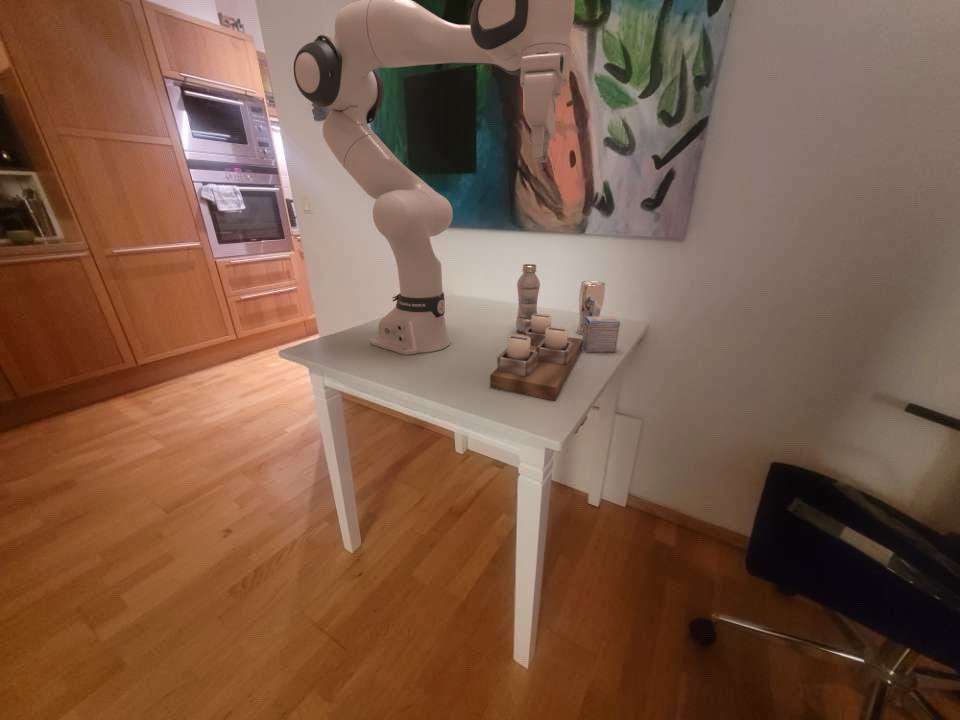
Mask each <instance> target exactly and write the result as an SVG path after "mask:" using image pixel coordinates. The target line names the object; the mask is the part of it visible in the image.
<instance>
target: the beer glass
mask: <svg viewBox="0 0 960 720" xmlns="http://www.w3.org/2000/svg"><path fill="white" fill-rule="evenodd" d="M605 286H606V283H605V282H602V281H600V280H599V281H598V280H597V281H596V280H585V281H581V283H580V289H579V294H578V295H579V296H578V312H579V320H578V321H579V322H578V326H577V328H576V329H577V330H576V332H577V333H578V334H579V335H581V336H583V332H584V323H585V317H600V316H601V311H602V308H603V305H604V300H605V293H606V291H605V289H606V288H605Z"/></svg>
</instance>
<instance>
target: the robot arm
mask: <svg viewBox="0 0 960 720" xmlns="http://www.w3.org/2000/svg"><path fill="white" fill-rule="evenodd" d="M575 7H576V0H474V3H473V4H472V9H471V13H470V20H469V21H470V22H469V23H470V24H456V23H453V22H449V21H447V20H445V19H442V18H441V17H439V16H437V15H436V14H434V13H433V12H431V11H430V10H428V9H426V8H425V7H423V6H422V5H420V4H419V3H417V2H416V1H414V0H356V1H353V2H351V3H349V4H347V5H345V6H343V7H342V8H340V10H339V11H338V13H337V14H336V17H335V21H334V36H333V38H330V37H329V36H328V35H325V34H321V35H317V37H316V38H315V39H314V40H313V41H311V42H309V43H306V44H305V45H303V46H302V47H301V48H300V49H299V50H298V51H297V53H296V55H295V58H294V62H293V77H294V80H295V81H294V82H295V84H296V86H297V88H298V91H299V92H300V94H301V95H302V96H303V97H304V98H306V99H307V101H310V102H311V103H313V104H315V105H317V106H320V107H321V108H322V107H323V108H325V107H326V108H328V115H327V117H326V118H325V120H324V121H323V125H322V135H323V136H322V137H323V139H324V140H325V143H326V144H327V146H328V148H329V150H331V153H332V154H333V155H334V157H335V158H336V160H337V161H338V162H339V163H340V164H341V165H342V167H343V168H344V170H346V172H347V173H348V174H349V175H350V176H351V177H352V179H354V181H356V183H357V184H358V185H359V187H360V188H362V190H363V191H364V192H365V193H366V194H367V195H368V196H370V198H373V199H374V200H375V202H374V205H373V209H372V219H373V223H374V226H375V227H376V230H378V232H379V233H380V234H381V235H382V236H383V237H384V238H385V239H386V240H387V242H388V244H389V246H390V248H391V250H392V253H393V256H394V258H395V262H396V266H397V274H398V281H399V282H398V283H399V291H400V292H399V294H397V295H394V296H393V297H391V299H393V300H391V301H392V302H396V304H395V307H394V308H392V310H390V311H389V312H388V313H387V314H386V315H384V316H383V317H382V318H381V319H380V320H379V323H378V327H377V331H378V332H377V334H375V335H374V336H373V337H372V338H371V339H370V344H371V345H373V346H376V347H380V348H382V349H385V350H389V351H392V352H394V353H399V354H402V355H406V356H410V355H413V354H414V355H415V354H420V353H431V352H436V351H440V350H442V349H445V348H447V347H448V346H449V345H450V344H451V343H452V342H451V339H450V336H449V333H448V329H447V324H446V318H445V313H446V311H445V309H446V304H445V301H446V300H445V293H444V292H443V278H442V277H443V276H442V275H443V274H442V263H441V260H440V259H439V258H438V257H437V255H435V252H434V249H433V246H432V242H431V238H432V237H435V236H436V237H437V236H439V235H440V234H442V233H444V232H445V231H446V230H447V229H448V228H449V227H450V226H451V224H452V221H453V218H454V216H453V215H454V212H453V211H454V210H453V207H452V205H451V202H450V201H449V200H448V199H447V198H446V197H445V196H443V195H442V194H440V193H439V192H437V191H435V190H434V188H432V187H431V186H430V185H428V184H427V182H425V181H424V180H423V179H422V178H421V177H419V176H418V175H417V174H415V173H414V172H413V171H411V170H410V169H409V168H408V167H407V166H406V165H404V163H402V162H401V160H400V159H399V158H397V157H396V155H395V154H394V153H393V151H391V150H390V149H389V147H387V145H386V144H385V143H384V142H383V141H382V139H380V137H379V136H377V134H376V133H375V132H374V131H373V130H372V128H370V125H369V124H371V123H373V122H374V121H375V119H376V118H377V117H376V116H377V114H378V113H379V111H380V110H381V107H382V104H383V103H384V98H385V86H384V81H383V79H382V77H381V75H380V74H379V73H378V71H377V70H376V69H379V68H380V69H382V68H384V69H385V68H387V69H388V68H389V69H390V68H392V69H393V68H403V67H406V68H407V67H413V66H415V67H416V66H423V65H424V66H425V65H427V66H428V65H438V64H440V65H441V64H452V65H453V64H455V65H485V66H486V65H487V66H489V65H490V66H495V67H497V68H498V69H501V70H502V71H504V72H505V73H507V74H509V75H511V76H518V77H519V76H520V83H519V84H520V88H523V90H524V91H523V93H524V95H523V96H524V97H523V98H524V99H523V100H524V116H525V122H526V123H527V125H528V126H529V128H530V129H531V143H532V144H531V145H532V150H531V151H532V156H533V157H534V158H537V161H538V162H539V163H546V162H547V161H548V152H549V148H550V147H549V146H550V140H553V139H554V138H555V133H556V119H557V116H556V115H557V98H558V97H560V96H561V95H562V89H563V88H564V87H566V86H568V84H569V83H570V73H571V60H572V59H571V58H572V41H571V32H572V27H573V24H574V21H575Z"/></svg>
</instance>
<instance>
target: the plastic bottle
mask: <svg viewBox="0 0 960 720" xmlns="http://www.w3.org/2000/svg"><path fill="white" fill-rule="evenodd" d="M521 272H523V273H522V274H521V276H520V277H519V278H518V280H517V282H516V284H517V285H516V286H517V297H518V299H517V300H518V308H517V316H516V320H515V328H516V330H517V331H518V332H519V333H522V334H523V333H524V331H525V330H526V329H527V328H528V327H529V326H530V325H531V321H532V315H534V314H538V308H537V307H538V299H539V292H540V287H541V283H540V279H539V277H538V276H537V275H536V272H537V265H536V264H533V263H526V264H523V265H522V271H521Z"/></svg>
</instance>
